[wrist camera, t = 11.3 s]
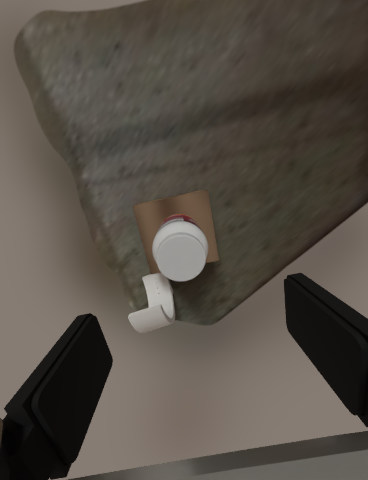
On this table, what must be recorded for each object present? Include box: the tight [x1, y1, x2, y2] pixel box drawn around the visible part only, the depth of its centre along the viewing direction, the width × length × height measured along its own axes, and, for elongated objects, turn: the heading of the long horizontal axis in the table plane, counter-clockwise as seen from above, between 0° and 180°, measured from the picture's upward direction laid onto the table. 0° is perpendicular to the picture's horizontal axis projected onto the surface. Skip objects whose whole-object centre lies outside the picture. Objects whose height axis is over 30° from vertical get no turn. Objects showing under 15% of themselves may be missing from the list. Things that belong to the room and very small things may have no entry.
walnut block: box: [133, 190, 219, 274], centre depth 31 cm, size 11×11×6 cm
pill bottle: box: [152, 214, 208, 281], centre depth 23 cm, size 6×6×11 cm
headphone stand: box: [128, 273, 175, 333], centre depth 31 cm, size 5×6×12 cm
